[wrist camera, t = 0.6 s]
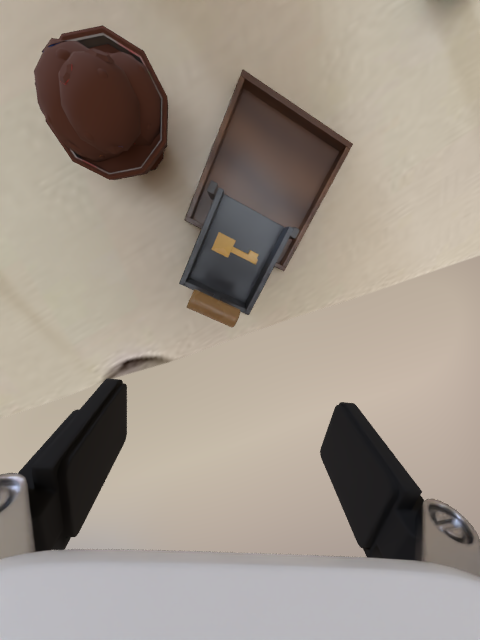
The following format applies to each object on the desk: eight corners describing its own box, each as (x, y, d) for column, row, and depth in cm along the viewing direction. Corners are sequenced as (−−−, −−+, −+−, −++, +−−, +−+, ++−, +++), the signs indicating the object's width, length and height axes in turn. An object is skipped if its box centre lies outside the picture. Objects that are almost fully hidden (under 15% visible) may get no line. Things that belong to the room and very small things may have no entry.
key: (211, 249, 28) (211, 249, 28) (218, 231, 28) (218, 231, 27) (252, 269, 29) (252, 270, 29) (260, 253, 29) (261, 253, 28)
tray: (241, 82, 28) (245, 39, 22) (343, 150, 31) (372, 129, 25) (187, 221, 33) (178, 217, 27) (280, 268, 36) (291, 275, 30)
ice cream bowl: (186, 100, 29) (147, -32, 14) (182, 201, 32) (146, 174, 18) (95, 83, 28) (-43, -78, 13) (101, 189, 31) (-3, 150, 17)
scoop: (219, 192, 27) (216, 173, 19) (287, 229, 28) (310, 226, 20) (181, 283, 30) (165, 301, 22) (244, 312, 32) (250, 338, 24)
